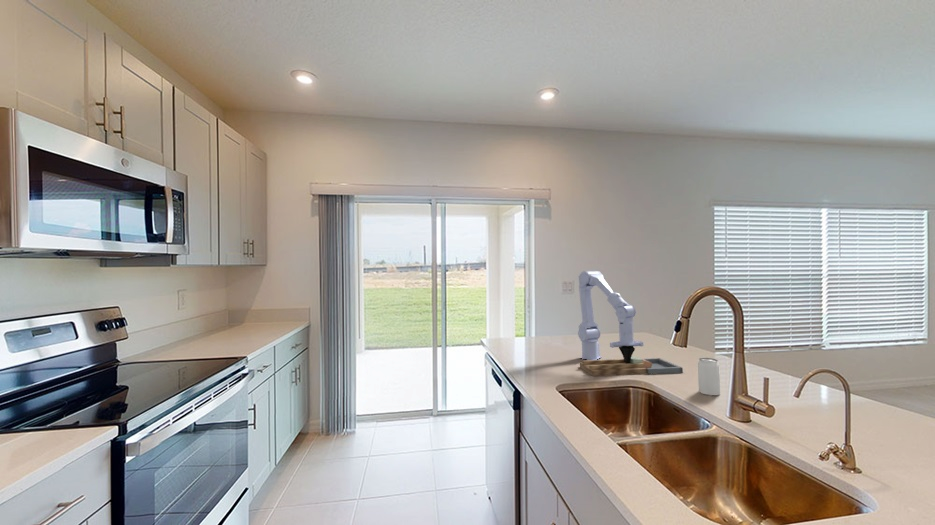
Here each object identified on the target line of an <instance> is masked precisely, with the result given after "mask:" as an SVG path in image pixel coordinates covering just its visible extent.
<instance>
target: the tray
mask: <svg viewBox="0 0 935 525" xmlns="http://www.w3.org/2000/svg"><path fill="white" fill-rule="evenodd" d="M643 359H644V360H646V361H648V362H651V363H653V364H652V367H651V368H646V369H647V374H646V375H662V374H682V373H684V372H683V370H684V369H683V367H682V366H679V365H677V364H675V363H672V362H671V361H670V362H669V361H667V360H665V359H663V358H661V357H656V358H655V357H653V358H643Z"/></svg>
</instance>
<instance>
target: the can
mask: <svg viewBox="0 0 935 525" xmlns="http://www.w3.org/2000/svg"><path fill="white" fill-rule="evenodd" d="M720 370H721V369H720V363H719V362H718V359H715V358H711V357H700V358H698V362H697V378H698V379H697V381H698V384H697V385H698V392H699V393H700V392H701V393H700V394H702V393H703V394H702V395H704V394H707V395H706V396H709V395H718V396H719V395H721V377H720V376H721V374H720Z"/></svg>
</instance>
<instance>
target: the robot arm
mask: <svg viewBox="0 0 935 525" xmlns="http://www.w3.org/2000/svg"><path fill="white" fill-rule="evenodd" d="M578 282H579V283H578V292H579V300H580V309H581V310H580V311H581V320H582V322H581V323H580V324H579V325H578V331H577V336H578V338H579V340H580V342H581V357H582V359H581V360H583V359H587V360H597V359H598V360H600V359H601V358H602V355H601V354H600V351H601V350H600V343H599V342H598V341H599V339H600V337H601V330H600V328H599V325H598V323H597V322H596V321H595V320H594V311H593V310H594V309H593V300H592V291H591V290H592V289H593V288H594V287H595V286H597V288H599V290H601V291H602V293H603V294H604V295H605V296H607V302H608V303H609V304H610V306H612V308H613V309H614V310H615V315H616V317H617V321H618V328H619V329H618V332H619V336H618V338H619V341H611V342H609V347H610V348H618V349H619V350H620V352H621V355H622V357H623V358H622V359H624V362H625V363H627V364H628V363H630V359H631V356H633V354H634V352H635V350H636V347H644V342H643V341H640V340H638V341H637V340H636V341H635V340H634V317H635V316H636V313H637V312H636V308H635V307H634V306H633V305H632V304H629V303H628V302H627V301H626V300H624V298H623V297H622V296H621V294H620V293H618V292H614V291H613V289H612V288H611V286H610V285H609V284H608V282H607V281H606V280H605V279H604V274H602V273H601V271H599V270H583V271H581V273H579V275H578ZM599 358H600V359H599ZM587 360H586V361H587Z"/></svg>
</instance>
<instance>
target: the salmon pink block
mask: <svg viewBox="0 0 935 525" xmlns="http://www.w3.org/2000/svg"><path fill="white" fill-rule="evenodd" d="M639 358H640V359H642V363H643V364H644V368H651V367H652V364H653V363H651V362H648V361H646V360H644V359H645V358H641V357H639Z"/></svg>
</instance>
